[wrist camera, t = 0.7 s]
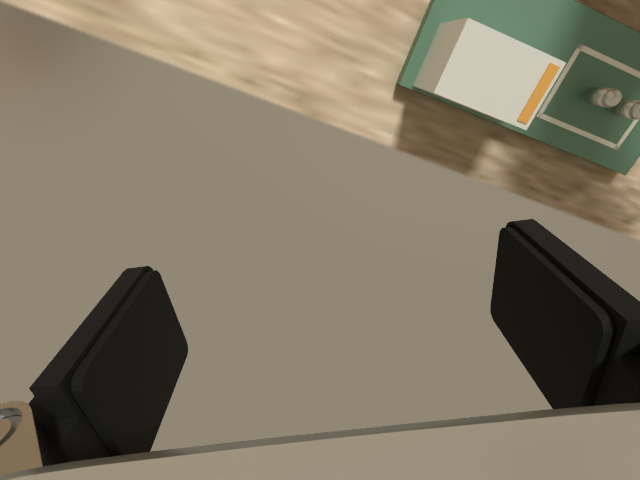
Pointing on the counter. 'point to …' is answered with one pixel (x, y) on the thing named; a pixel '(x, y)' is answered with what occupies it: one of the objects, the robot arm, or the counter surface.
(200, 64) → the counter surface
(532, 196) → the counter surface
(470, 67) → the plug cap
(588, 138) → the header board
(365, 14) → the counter surface
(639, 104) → the grey peg pair
